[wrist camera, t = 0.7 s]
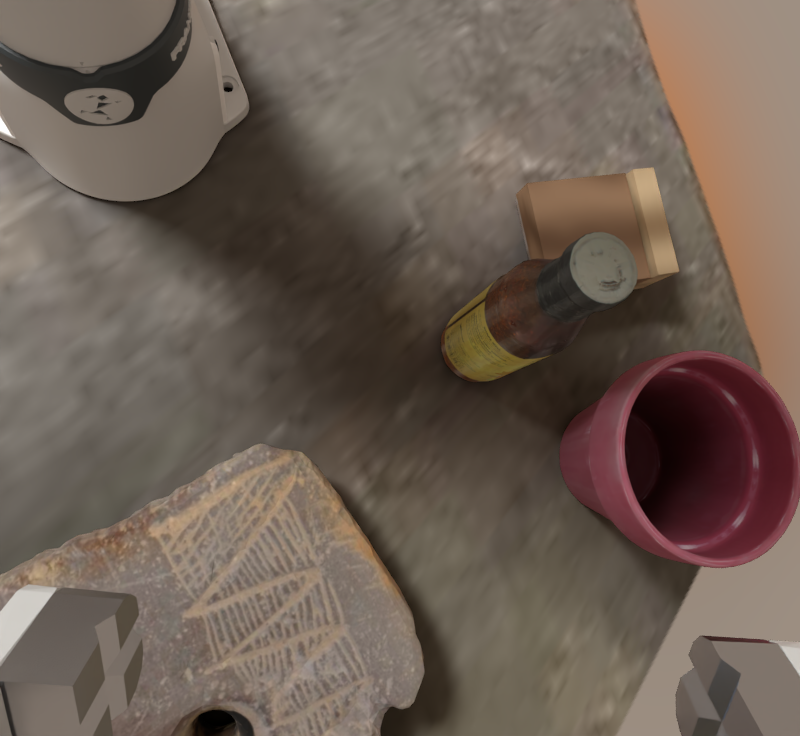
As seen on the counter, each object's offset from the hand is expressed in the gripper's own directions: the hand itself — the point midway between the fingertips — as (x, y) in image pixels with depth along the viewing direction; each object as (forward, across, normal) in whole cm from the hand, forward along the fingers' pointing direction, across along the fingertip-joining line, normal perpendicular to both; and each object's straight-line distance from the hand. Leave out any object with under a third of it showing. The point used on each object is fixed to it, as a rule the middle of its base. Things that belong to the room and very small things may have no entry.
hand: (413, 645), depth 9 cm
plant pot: (+39, -18, +19) cm, 47 cm away
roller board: (+48, -14, +3) cm, 51 cm away
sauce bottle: (+42, -6, +11) cm, 43 cm away
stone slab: (+24, +11, +32) cm, 42 cm away
